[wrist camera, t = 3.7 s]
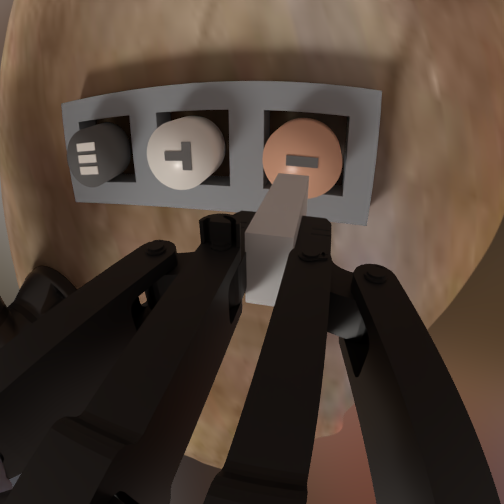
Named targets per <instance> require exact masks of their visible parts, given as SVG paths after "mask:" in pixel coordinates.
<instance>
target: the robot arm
mask: <svg viewBox="0 0 504 504" xmlns="http://www.w3.org/2000/svg"><path fill="white" fill-rule="evenodd" d="M308 186H309V176H305V175H294V174H283V173H278V175H277V177H276V179H275V180H274V182H273V184H272V185H271V187H270V189H269V191H268V192H267V194H266V196H265V198H264V199H263V201H262V203H261V205H260V206H259V208H258V210H257V212H253V211H242V210H241V211H239V212H237V213H236V214H234V215H230V214H212V215H208V216H205V217H203V218H202V219H200V220H199V224H200V236H201V244H200V246H199V247H198V248H197V250H196V251H195V252H189V253H177V251H176V246H175V245H174V243H172V242H170V241H164V240H154V241H152V242H148V243H146V244H144V245H142V246H140V247H139V248H137V249H136V250H134V251H133V252H131V253H130V254H128V255H127V256H125V257H124V258H122V259H121V260H119V261H118V262H117V263H115V264H114V265H112V266H111V267H109V268H108V269H106V270H105V271H103V272H102V273H101V274H99V275H98V276H96V277H95V278H93V279H92V280H91V281H89V282H88V283H86V284H85V285H84V286H82V287H81V288H79V289H78V290H76V289H75V288H74V286H73V285H72V284H71V283H70V282H69V281H68V280H67V279H66V278H65V277H64V276H62V275H61V274H60V273H58V272H57V271H55V270H53V269H51V268H49V267H45V266H39V267H37V268H35V269H34V270H33V271H32V272H31V273H29V274H28V276H27V277H26V279H25V281H24V283H23V285H22V286H21V288H20V290H19V292H18V294H17V296H16V298H15V300H14V301H13V302H12V303H11V305H9V306H8V307H6V305H5V304H4V301H3V300H2V298H1V296H0V504H169V503H170V499H171V485H172V482H173V479H174V477H175V474H176V472H177V470H178V467H179V465H180V463H181V460H182V458H183V455H184V453H185V451H186V448H187V446H188V443H189V441H190V439H191V436H192V434H193V431H194V429H195V426H196V424H197V422H198V419H199V417H200V414H201V412H202V409H203V407H204V404H205V402H206V400H207V397H208V395H209V392H210V390H211V387H212V385H213V382H214V380H215V377H216V375H217V372H218V370H219V368H220V365H221V363H222V360H223V358H224V355H225V353H226V350H227V348H228V345H229V343H230V340H231V338H232V335H233V333H234V330H235V328H236V325H237V323H238V320H239V318H240V315H241V313H242V298H243V296H244V293H245V291H246V302H247V303H254V304H261V305H268V306H274V309H273V312H272V316H271V319H270V322H269V326H268V329H267V333H266V336H265V339H264V343H263V346H262V349H261V353H260V356H259V359H258V363H257V366H256V369H255V372H254V376H253V379H252V382H251V385H250V388H249V392H248V395H247V398H246V401H245V404H244V407H243V410H242V414H241V417H240V420H239V423H238V426H237V429H236V432H235V435H234V438H233V441H232V444H231V447H230V450H229V453H228V456H227V459H226V462H225V464H224V467H223V468H222V470H221V471H220V472H219V473H218V474H217V475H216V476H215V478H214V480H213V481H212V483H211V486H210V488H209V490H208V493H207V495H206V498H205V501H204V503H203V504H306V502H307V493H308V492H307V479H308V474H309V468H310V462H311V456H312V450H313V444H314V438H315V431H316V425H317V418H318V410H319V403H320V395H321V387H322V378H323V369H324V360H325V349H326V339H327V332H329V333H332V334H335V335H337V336H339V344H340V348H341V351H342V355H343V359H344V363H345V366H346V370H347V374H348V378H349V382H350V386H351V389H352V393H353V397H354V401H355V406H356V410H357V413H358V418H359V422H360V427H361V431H362V435H363V439H364V444H365V449H366V453H367V458H368V462H369V467H370V472H371V476H372V482H373V487H374V492H375V497H376V503H377V504H501V503H500V500H499V497H498V493H497V490H496V487H495V484H494V481H493V478H492V475H491V472H490V469H489V466H488V464H487V460H486V458H485V455H484V452H483V450H482V447H481V444H480V442H479V439H478V437H477V434H476V432H475V429H474V427H473V424H472V422H471V420H470V417H469V415H468V413H467V410H466V408H465V406H464V404H463V401H462V399H461V397H460V395H459V393H458V390H457V388H456V386H455V384H454V382H453V380H452V378H451V376H450V374H449V372H448V370H447V367H446V365H445V364H444V361H443V360H442V357H441V356H440V354H439V352H438V350H437V348H436V346H435V344H434V342H433V340H432V338H431V336H430V335H429V333H428V331H427V329H426V327H425V325H424V324H423V322H422V320H421V318H420V316H419V315H418V313H417V311H416V309H415V308H414V306H413V304H412V302H411V301H410V299H409V297H408V296H407V294H406V292H405V290H404V289H403V287H402V285H401V284H400V282H399V281H398V279H397V277H396V276H395V275H394V273H393V272H392V271H390V270H389V269H387V268H385V267H383V266H381V265H377V264H364V265H360V266H358V267H356V269H355V270H354V272H353V273H352V272H349V271H346V270H344V269H342V268H340V267H338V266H337V265H335V264H334V263H333V261H332V258H331V255H330V253H331V223H330V222H329V221H328V219H327V218H320V217H311V216H306V213H307V200H308ZM144 291H145V294H146V298H147V301H146V302H145V303H143V304H140V301H139V297H138V296H139V295H141V294H142V293H143V292H144ZM21 473H22V474H21ZM19 474H21V475H20V477H19V479H18V480H17V482H16V484H15V485H14V487H13V486H12V483H11V482H10V480H9V479H11V478H13V477H15V476H17V475H19Z"/></svg>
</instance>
